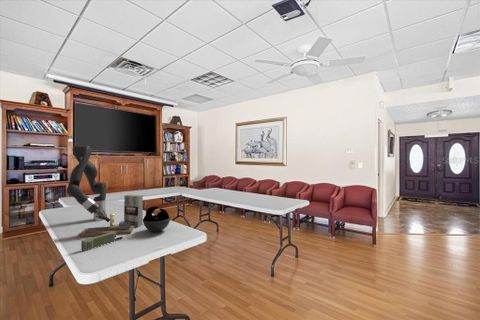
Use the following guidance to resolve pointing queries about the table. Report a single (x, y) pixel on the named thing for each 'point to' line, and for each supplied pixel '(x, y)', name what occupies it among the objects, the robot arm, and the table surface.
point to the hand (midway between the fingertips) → (109, 221)
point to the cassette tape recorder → (133, 209)
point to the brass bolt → (112, 222)
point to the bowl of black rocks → (156, 219)
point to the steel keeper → (124, 225)
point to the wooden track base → (103, 231)
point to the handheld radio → (98, 241)
